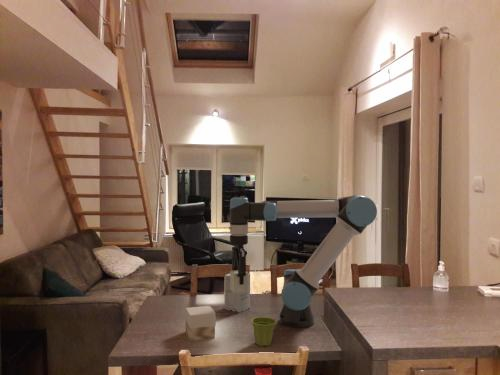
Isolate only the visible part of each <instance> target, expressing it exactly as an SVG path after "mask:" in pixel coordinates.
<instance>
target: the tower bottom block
mask: <svg viewBox="0 0 500 375" xmlns="http://www.w3.org/2000/svg"><path fill="white" fill-rule="evenodd" d="M185 333H186V337H187V339H188V341H189V342H193V341H202V340H211V339H213V340H214V339H215V338H216V325H215V326H209V327H199V328H190V327H189V325H188V323H187V321H186V320H185Z"/></svg>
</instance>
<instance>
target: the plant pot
mask: <svg viewBox="0 0 500 375" xmlns="http://www.w3.org/2000/svg"><path fill="white" fill-rule="evenodd" d="M251 323H252V327H253V335H254V342H255V344H256V345H257V346H261V347H264V346H267V347H268V346H270V345H272V340H273V335H274V329H275V328H274V327H275V324H276V323H277V320H276V319H274V318H272V317H268V316H257V317H253V318H252V319H251Z"/></svg>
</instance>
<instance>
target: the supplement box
mask: <svg viewBox="0 0 500 375" xmlns="http://www.w3.org/2000/svg"><path fill="white" fill-rule="evenodd" d="M248 308H249V309H250V308H251V274H250V273H248V292H242V293H233V292H232V291H231V290H230V273H226V274H225V275H224V308H223V309H224V310H225V309H227V310H226V311H230V310H232V311H231V312H235V311H238V312H237V313H242V312H244V311H246V310H248ZM241 311H242V312H241Z"/></svg>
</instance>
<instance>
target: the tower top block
mask: <svg viewBox="0 0 500 375" xmlns="http://www.w3.org/2000/svg"><path fill="white" fill-rule="evenodd" d="M216 314H217V313H216V312H215V310H214V309H213V308H212V307H211V305H204V306H192V307H186V308H185V322H186V321H187V323H188V325H189V327H190V328H199V327H209V326H215V327H216V321H217V320H216V319H217V318H216Z"/></svg>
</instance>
